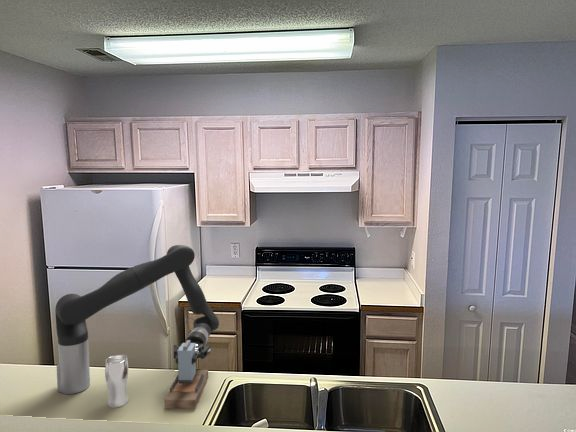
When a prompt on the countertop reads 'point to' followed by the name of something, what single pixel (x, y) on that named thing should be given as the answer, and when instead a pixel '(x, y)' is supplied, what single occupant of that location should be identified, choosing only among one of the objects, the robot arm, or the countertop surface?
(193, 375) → the blue rectangular block
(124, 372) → the beer glass
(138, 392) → the countertop surface
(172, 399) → the dock
